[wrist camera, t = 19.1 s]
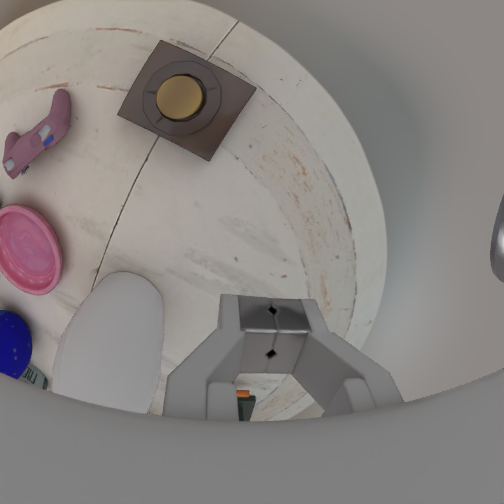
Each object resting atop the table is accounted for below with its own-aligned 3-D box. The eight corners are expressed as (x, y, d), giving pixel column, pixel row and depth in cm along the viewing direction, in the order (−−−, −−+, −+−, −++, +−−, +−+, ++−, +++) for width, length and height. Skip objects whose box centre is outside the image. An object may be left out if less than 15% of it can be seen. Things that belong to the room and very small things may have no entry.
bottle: (158, 340, 38) (136, 515, 15) (86, 311, 34) (26, 477, 12) (184, 283, 33) (163, 509, 11) (100, 248, 30) (-3, 448, 8)
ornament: (-7, 291, 31) (-50, 352, 18) (31, 304, 33) (-11, 376, 20) (9, 337, 36) (-22, 396, 23) (46, 351, 38) (18, 417, 25)
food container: (16, 378, 42) (7, 399, 36) (2, 346, 37) (-11, 368, 31) (58, 396, 45) (50, 419, 39) (46, 366, 40) (36, 392, 34)
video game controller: (29, 156, 24) (10, 195, 20) (8, 132, 21) (-16, 168, 17) (86, 111, 24) (70, 144, 20) (66, 82, 20) (42, 109, 16)
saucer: (63, 198, 26) (50, 208, 24) (77, 287, 32) (68, 302, 29) (-5, 197, 24) (-19, 206, 22) (12, 276, 30) (2, 289, 27)
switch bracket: (205, 394, 45) (205, 442, 37) (255, 395, 47) (261, 442, 38) (203, 418, 50) (204, 460, 41) (247, 419, 51) (252, 460, 43)
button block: (254, 89, 24) (259, 86, 20) (210, 157, 26) (208, 165, 23) (165, 44, 20) (156, 35, 17) (124, 113, 23) (109, 115, 20)
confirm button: (211, 89, 20) (210, 87, 19) (189, 125, 22) (186, 126, 20) (174, 70, 19) (171, 68, 17) (152, 107, 20) (147, 107, 19)
